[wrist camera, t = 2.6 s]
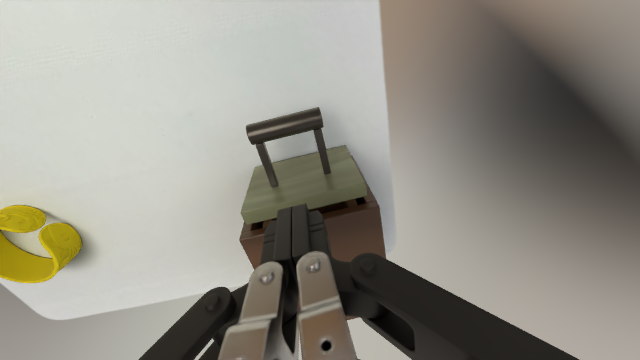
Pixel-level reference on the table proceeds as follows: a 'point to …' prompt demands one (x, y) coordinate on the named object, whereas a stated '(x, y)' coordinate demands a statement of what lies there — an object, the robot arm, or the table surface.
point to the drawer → (299, 172)
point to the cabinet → (334, 232)
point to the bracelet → (55, 238)
